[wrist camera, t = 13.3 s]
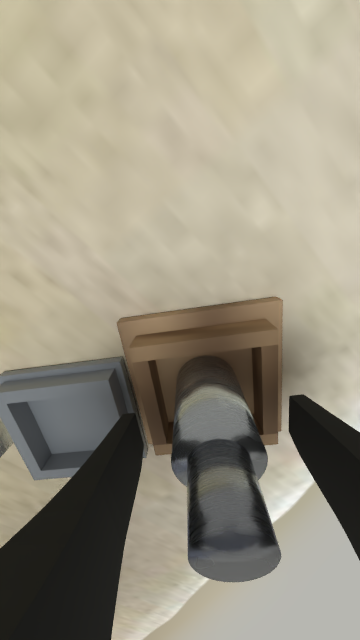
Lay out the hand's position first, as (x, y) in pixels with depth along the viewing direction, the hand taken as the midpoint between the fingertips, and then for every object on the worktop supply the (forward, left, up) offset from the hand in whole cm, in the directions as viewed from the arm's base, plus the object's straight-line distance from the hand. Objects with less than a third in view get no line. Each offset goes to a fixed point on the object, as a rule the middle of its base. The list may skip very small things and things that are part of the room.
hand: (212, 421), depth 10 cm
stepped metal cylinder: (0, 0, -3) cm, 3 cm away
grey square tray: (-9, -2, -4) cm, 10 cm away
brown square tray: (0, 0, -4) cm, 4 cm away
